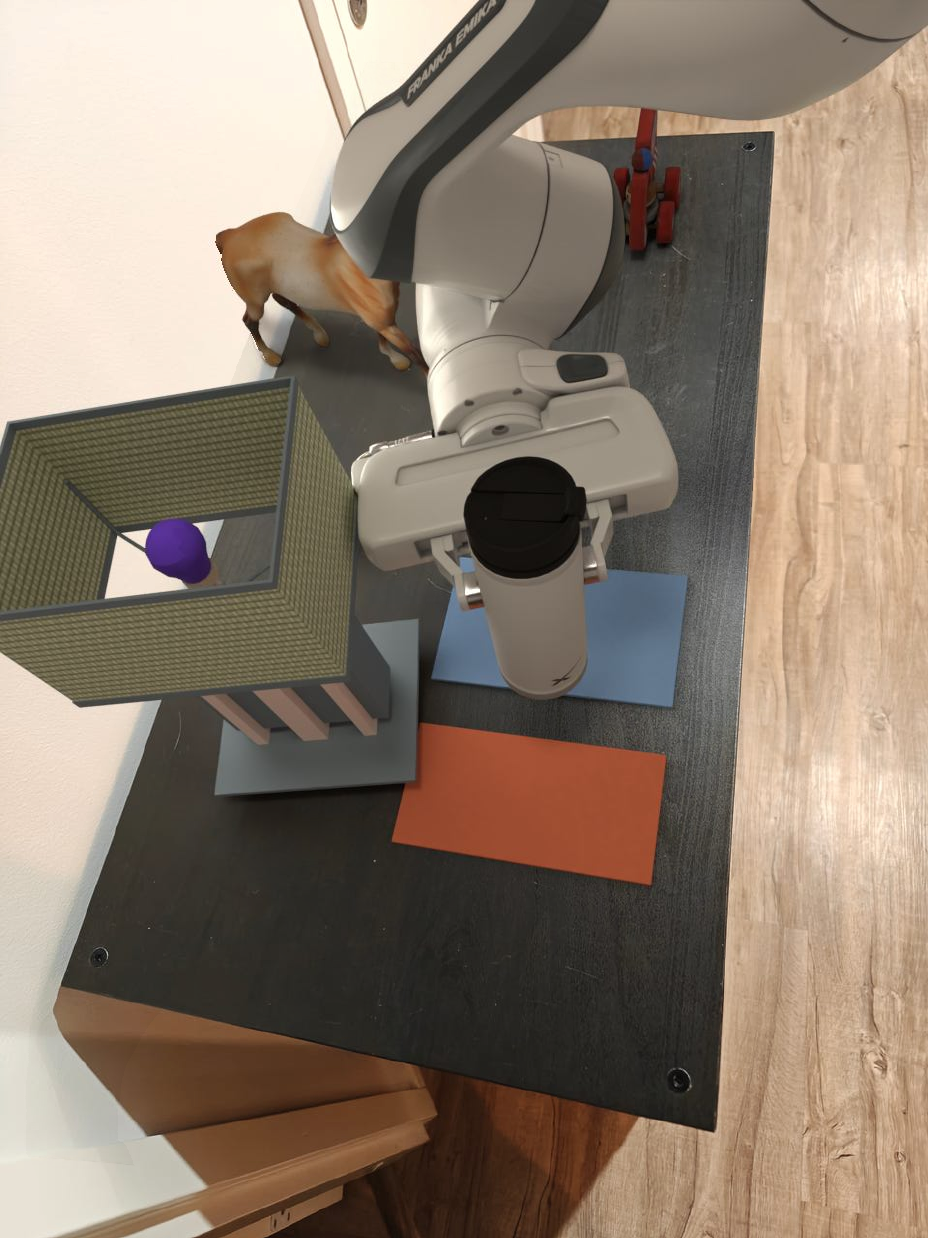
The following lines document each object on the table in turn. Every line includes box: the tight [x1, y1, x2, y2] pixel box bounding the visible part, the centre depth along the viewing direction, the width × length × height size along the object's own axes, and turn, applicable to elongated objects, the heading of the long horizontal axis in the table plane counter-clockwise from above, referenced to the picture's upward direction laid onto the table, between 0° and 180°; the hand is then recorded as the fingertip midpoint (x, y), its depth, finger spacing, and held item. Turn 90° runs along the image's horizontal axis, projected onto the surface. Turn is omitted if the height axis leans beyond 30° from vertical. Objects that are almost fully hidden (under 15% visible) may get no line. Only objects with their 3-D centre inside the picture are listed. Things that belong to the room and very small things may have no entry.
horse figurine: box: [215, 211, 430, 381], centre depth 90 cm, size 31×8×21 cm, turn 64°
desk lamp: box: [0, 374, 421, 798], centre depth 66 cm, size 18×14×33 cm
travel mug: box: [463, 456, 588, 701], centre depth 58 cm, size 6×7×20 cm
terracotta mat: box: [391, 722, 668, 887], centre depth 73 cm, size 20×10×1 cm, turn 78°
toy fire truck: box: [612, 108, 682, 251], centre depth 96 cm, size 7×12×10 cm, turn 168°
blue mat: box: [430, 556, 689, 709], centre depth 80 cm, size 20×12×1 cm, turn 78°
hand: (534, 591), depth 57 cm, fingers closed on travel mug, 6 cm apart
